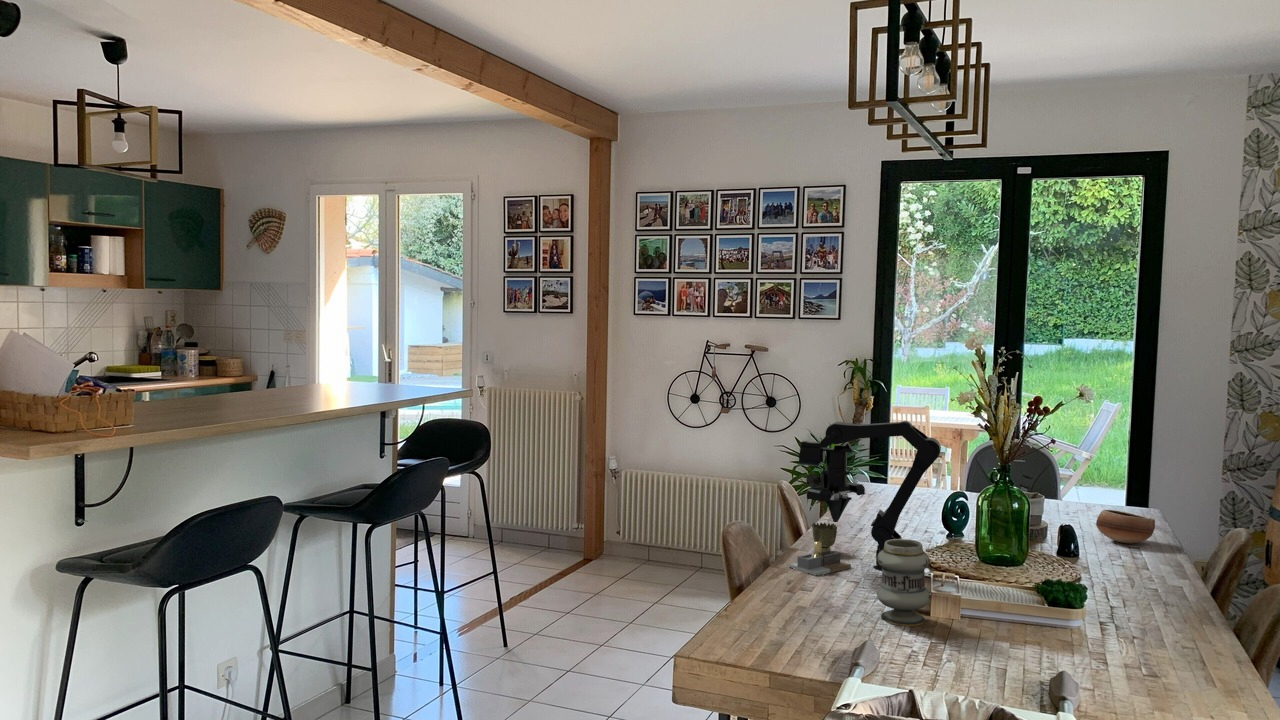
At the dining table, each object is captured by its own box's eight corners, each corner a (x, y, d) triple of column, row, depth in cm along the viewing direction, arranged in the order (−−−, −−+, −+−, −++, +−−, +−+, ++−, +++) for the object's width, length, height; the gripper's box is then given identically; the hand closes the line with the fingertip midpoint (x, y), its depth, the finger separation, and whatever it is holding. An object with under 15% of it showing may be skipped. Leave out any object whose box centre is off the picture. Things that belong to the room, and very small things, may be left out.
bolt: (823, 564, 264) (823, 542, 263) (808, 567, 260) (808, 545, 260) (816, 562, 265) (817, 541, 265) (801, 565, 262) (802, 544, 262)
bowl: (1164, 546, 292) (1165, 514, 292) (1126, 550, 286) (1127, 517, 286) (1121, 535, 307) (1122, 504, 306) (1084, 539, 301) (1085, 507, 300)
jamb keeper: (830, 572, 260) (830, 558, 260) (816, 575, 256) (816, 561, 256) (803, 564, 268) (803, 551, 268) (789, 567, 264) (789, 554, 264)
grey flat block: (850, 567, 265) (850, 554, 265) (831, 572, 260) (831, 558, 260) (823, 560, 273) (823, 547, 273) (804, 564, 268) (804, 551, 268)
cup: (839, 554, 279) (839, 527, 279) (813, 554, 280) (814, 527, 279) (834, 548, 287) (834, 522, 286) (809, 548, 287) (810, 521, 287)
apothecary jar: (865, 614, 224) (866, 538, 223) (908, 609, 228) (909, 534, 227) (896, 630, 212) (898, 550, 212) (941, 624, 217) (942, 546, 216)
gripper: (836, 460, 280) (835, 513, 281) (792, 466, 268) (791, 521, 269) (866, 465, 271) (865, 519, 272) (822, 471, 260) (821, 528, 260)
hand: (835, 521), depth 268 cm, fingers closed
